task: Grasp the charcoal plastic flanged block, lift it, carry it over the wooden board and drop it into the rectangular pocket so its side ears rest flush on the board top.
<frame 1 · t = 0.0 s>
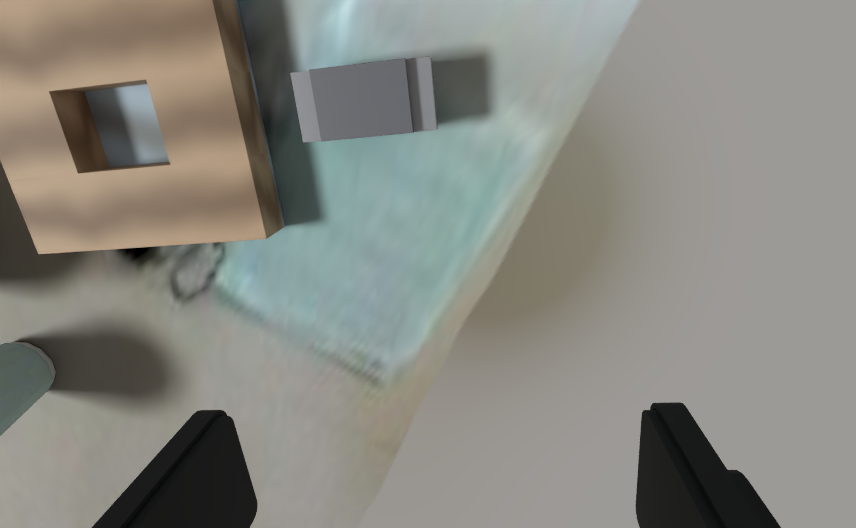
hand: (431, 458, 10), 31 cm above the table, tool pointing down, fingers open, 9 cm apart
disposable coffee cup: (34, 364, 52), on the table
flanged block: (376, 100, 38), on the table
wooden board: (144, 125, 41), on the table
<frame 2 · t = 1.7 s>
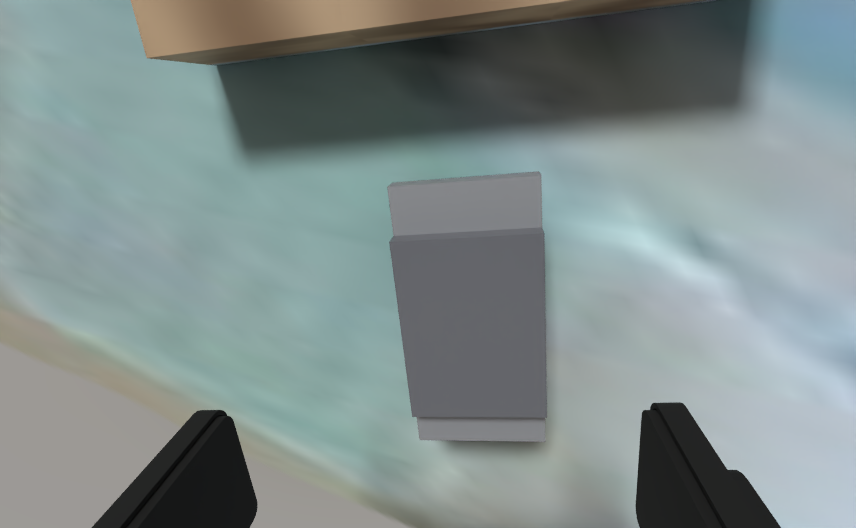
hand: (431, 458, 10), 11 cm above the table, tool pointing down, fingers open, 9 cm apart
flanged block: (476, 280, 21), on the table
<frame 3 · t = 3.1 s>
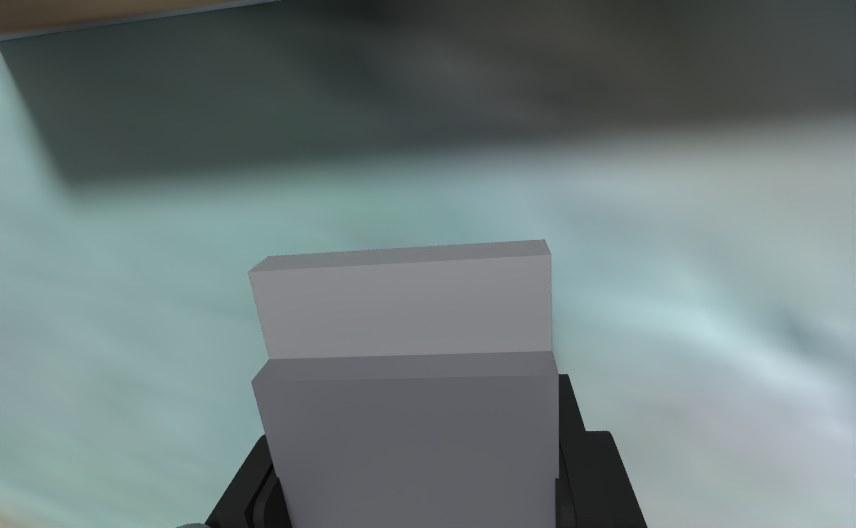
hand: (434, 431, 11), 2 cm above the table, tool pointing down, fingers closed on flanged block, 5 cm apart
flanged block: (441, 382, 13), on the table, touching gripper
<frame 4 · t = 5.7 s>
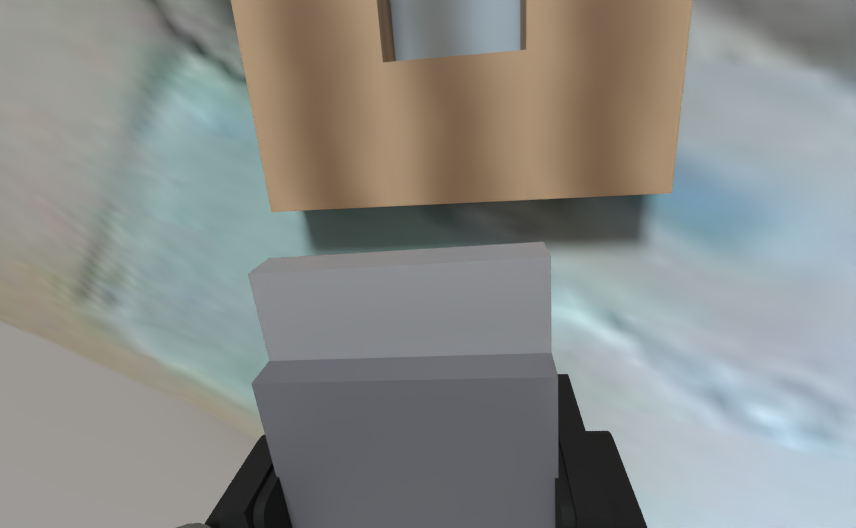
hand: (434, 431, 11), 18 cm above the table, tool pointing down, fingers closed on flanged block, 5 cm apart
flanged block: (441, 383, 13), point 16 cm above the table, touching gripper
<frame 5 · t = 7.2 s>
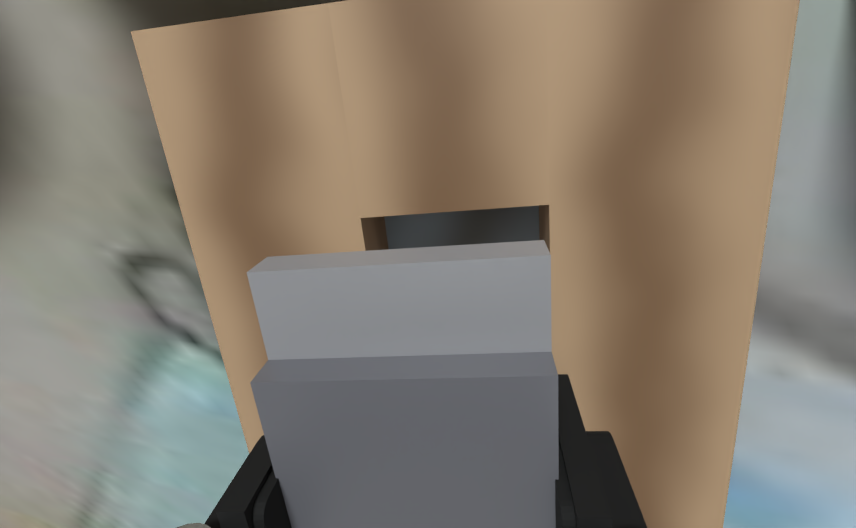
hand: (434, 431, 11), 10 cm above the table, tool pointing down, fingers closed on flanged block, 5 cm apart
flanged block: (441, 382, 13), point 8 cm above the table, touching gripper
wooden board: (466, 282, 21), on the table
when the fingers open (5 cm above the table, at t = 8.6 s): flanged block drops 2 cm, resting on wooden board.
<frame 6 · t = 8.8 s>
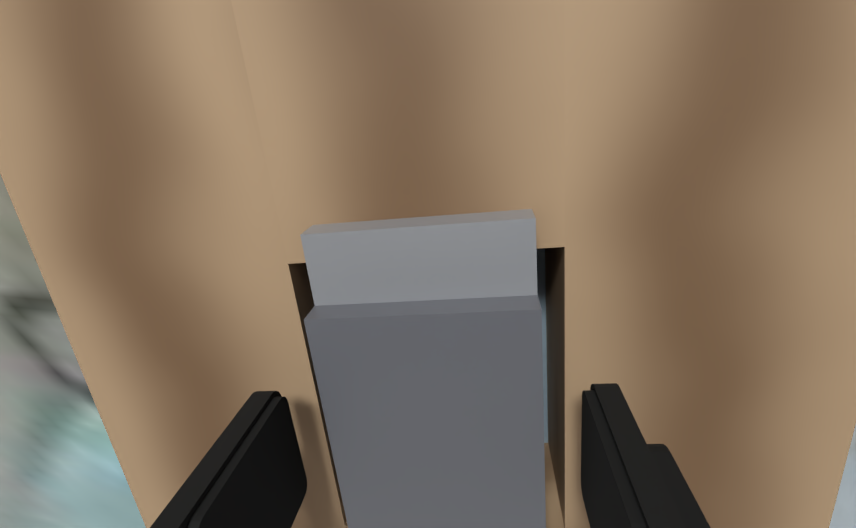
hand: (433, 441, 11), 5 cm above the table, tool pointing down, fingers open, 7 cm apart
flanged block: (448, 341, 15), resting on wooden board
wooden board: (447, 333, 16), on the table
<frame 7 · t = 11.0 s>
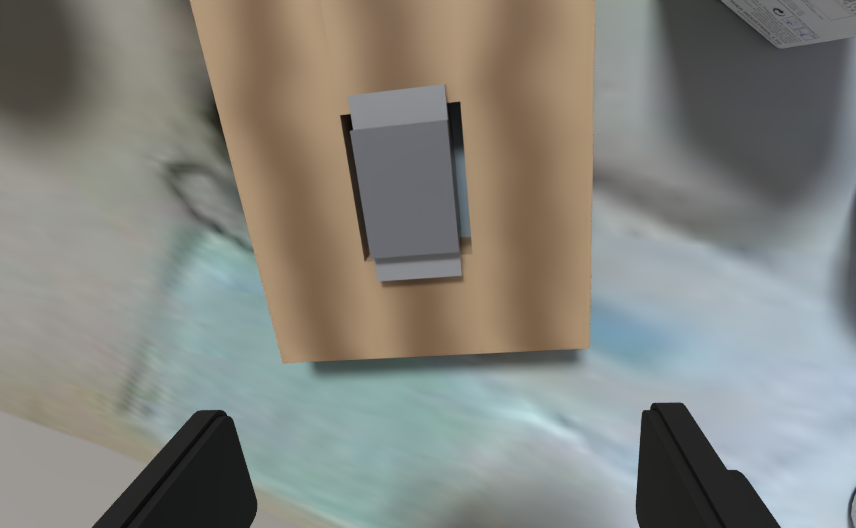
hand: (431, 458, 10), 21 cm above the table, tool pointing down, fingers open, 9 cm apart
flanged block: (416, 176, 29), resting on wooden board
wooden board: (416, 175, 30), on the table
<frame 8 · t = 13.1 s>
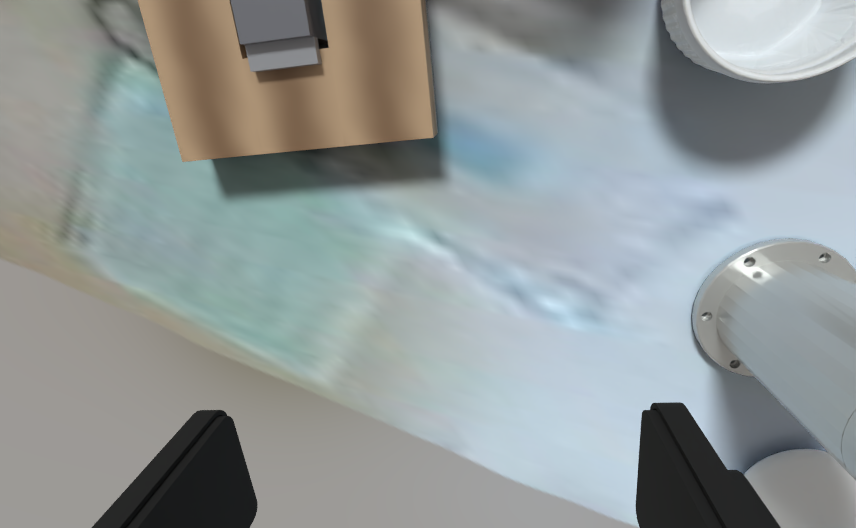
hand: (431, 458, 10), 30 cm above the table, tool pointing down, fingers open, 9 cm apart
flower in vase: (792, 486, 46), on the table
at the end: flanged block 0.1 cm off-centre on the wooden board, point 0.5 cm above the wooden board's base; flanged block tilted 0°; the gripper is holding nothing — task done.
